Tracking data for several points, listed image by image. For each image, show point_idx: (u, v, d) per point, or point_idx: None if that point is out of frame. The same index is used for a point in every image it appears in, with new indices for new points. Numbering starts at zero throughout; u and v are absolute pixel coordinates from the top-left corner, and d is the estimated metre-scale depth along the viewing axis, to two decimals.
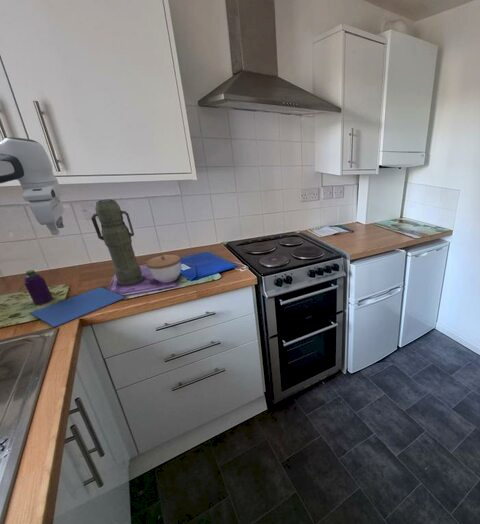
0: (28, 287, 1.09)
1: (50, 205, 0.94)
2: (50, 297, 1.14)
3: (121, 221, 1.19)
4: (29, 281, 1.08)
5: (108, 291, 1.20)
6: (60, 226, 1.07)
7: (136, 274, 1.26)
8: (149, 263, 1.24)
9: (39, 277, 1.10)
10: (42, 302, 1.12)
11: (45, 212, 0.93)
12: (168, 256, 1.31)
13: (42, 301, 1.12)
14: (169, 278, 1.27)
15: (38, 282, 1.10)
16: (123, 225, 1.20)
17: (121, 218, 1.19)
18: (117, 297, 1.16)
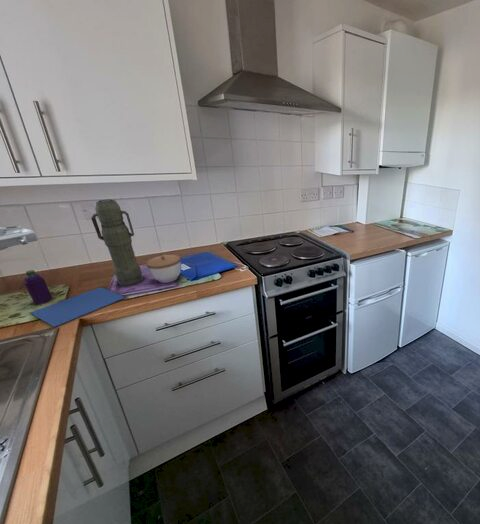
0: (28, 287, 1.09)
1: None
2: (50, 297, 1.14)
3: (121, 221, 1.19)
4: (29, 281, 1.08)
5: (108, 291, 1.20)
6: None
7: (136, 274, 1.26)
8: (149, 263, 1.24)
9: (39, 277, 1.10)
10: (42, 302, 1.12)
11: None
12: (168, 256, 1.31)
13: (42, 301, 1.12)
14: (169, 278, 1.27)
15: (38, 282, 1.10)
16: (123, 225, 1.20)
17: (121, 218, 1.19)
18: (117, 297, 1.16)
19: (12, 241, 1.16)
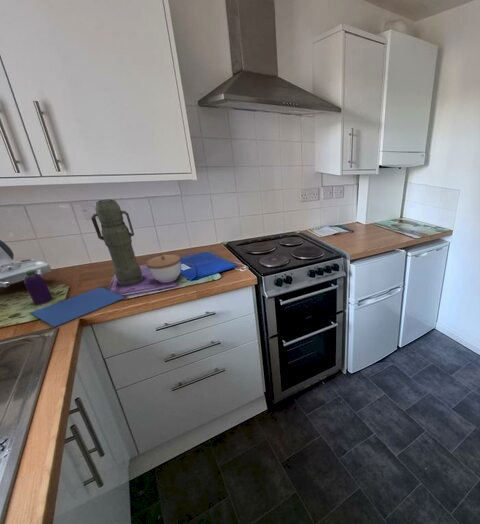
0: (28, 287, 1.09)
1: None
2: (50, 297, 1.14)
3: (121, 221, 1.19)
4: (29, 281, 1.08)
5: (108, 291, 1.20)
6: None
7: (136, 274, 1.26)
8: (149, 263, 1.24)
9: (39, 277, 1.10)
10: (42, 302, 1.12)
11: None
12: (168, 256, 1.31)
13: (42, 301, 1.12)
14: (169, 278, 1.27)
15: (38, 282, 1.10)
16: (123, 225, 1.20)
17: (121, 218, 1.19)
18: (117, 297, 1.16)
19: None
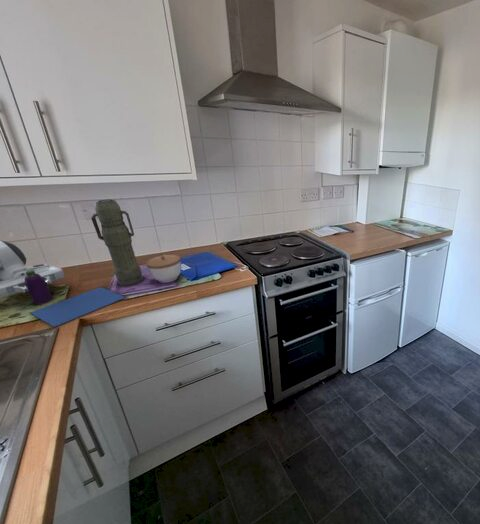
0: (28, 287, 1.09)
1: None
2: (50, 297, 1.14)
3: (121, 221, 1.19)
4: (29, 281, 1.08)
5: (108, 291, 1.20)
6: None
7: (136, 274, 1.26)
8: (149, 263, 1.24)
9: (39, 277, 1.10)
10: (42, 302, 1.12)
11: None
12: (168, 256, 1.31)
13: (42, 301, 1.12)
14: (169, 278, 1.27)
15: (38, 282, 1.10)
16: (123, 225, 1.20)
17: (121, 218, 1.19)
18: (117, 297, 1.16)
19: None
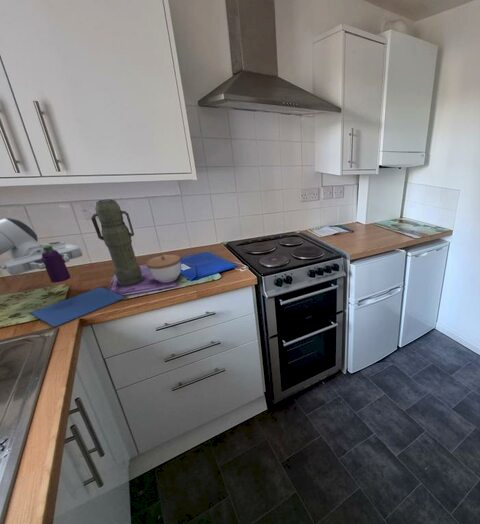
0: (45, 263, 1.03)
1: None
2: (68, 275, 1.08)
3: (121, 221, 1.19)
4: (47, 257, 1.02)
5: (108, 291, 1.20)
6: None
7: (136, 274, 1.26)
8: (149, 263, 1.24)
9: (57, 253, 1.04)
10: (60, 280, 1.06)
11: None
12: (168, 256, 1.31)
13: (60, 279, 1.06)
14: (169, 278, 1.27)
15: (56, 258, 1.04)
16: (123, 225, 1.20)
17: (121, 218, 1.19)
18: (117, 297, 1.16)
19: None
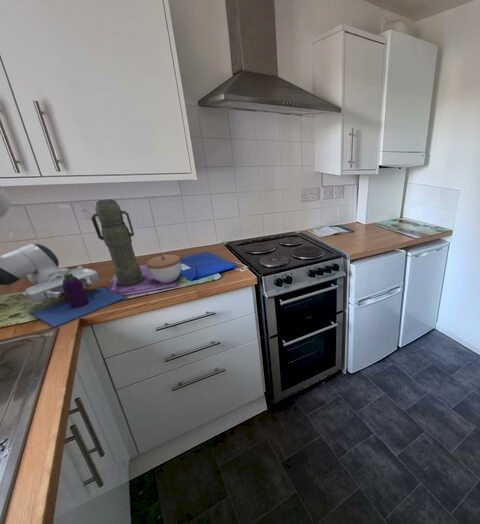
0: (66, 290, 1.06)
1: None
2: (87, 300, 1.11)
3: (121, 221, 1.19)
4: (67, 284, 1.06)
5: (108, 291, 1.20)
6: None
7: (136, 274, 1.26)
8: (149, 263, 1.24)
9: (77, 280, 1.08)
10: (79, 306, 1.09)
11: None
12: (168, 256, 1.31)
13: (79, 305, 1.09)
14: (169, 278, 1.27)
15: (76, 285, 1.07)
16: (123, 225, 1.20)
17: (121, 218, 1.19)
18: (117, 297, 1.16)
19: None
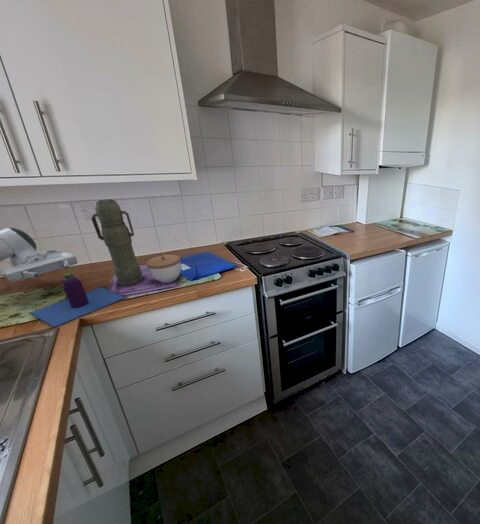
0: (66, 290, 1.06)
1: None
2: (87, 300, 1.11)
3: (121, 221, 1.19)
4: (67, 284, 1.06)
5: (108, 291, 1.20)
6: None
7: (136, 274, 1.26)
8: (149, 263, 1.24)
9: (77, 280, 1.08)
10: (79, 306, 1.09)
11: None
12: (168, 256, 1.31)
13: (79, 305, 1.09)
14: (169, 278, 1.27)
15: (76, 285, 1.07)
16: (123, 225, 1.20)
17: (121, 218, 1.19)
18: (117, 297, 1.16)
19: (54, 265, 1.17)
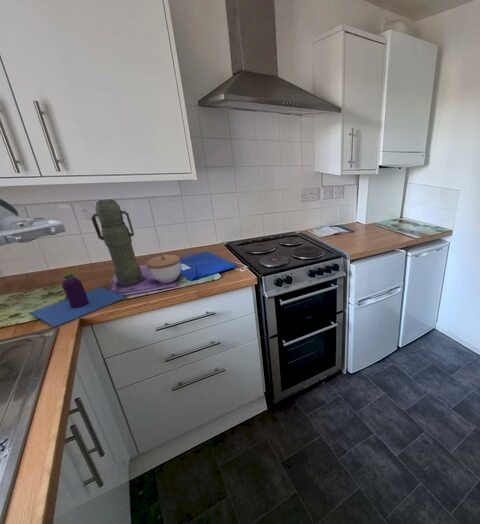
0: (66, 290, 1.06)
1: None
2: (87, 300, 1.11)
3: (121, 221, 1.19)
4: (67, 284, 1.06)
5: (108, 291, 1.20)
6: None
7: (136, 274, 1.26)
8: (149, 263, 1.24)
9: (77, 280, 1.08)
10: (79, 306, 1.09)
11: None
12: (168, 256, 1.31)
13: (79, 305, 1.09)
14: (169, 278, 1.27)
15: (76, 285, 1.07)
16: (123, 225, 1.20)
17: (121, 218, 1.19)
18: (117, 297, 1.16)
19: (41, 231, 1.12)
